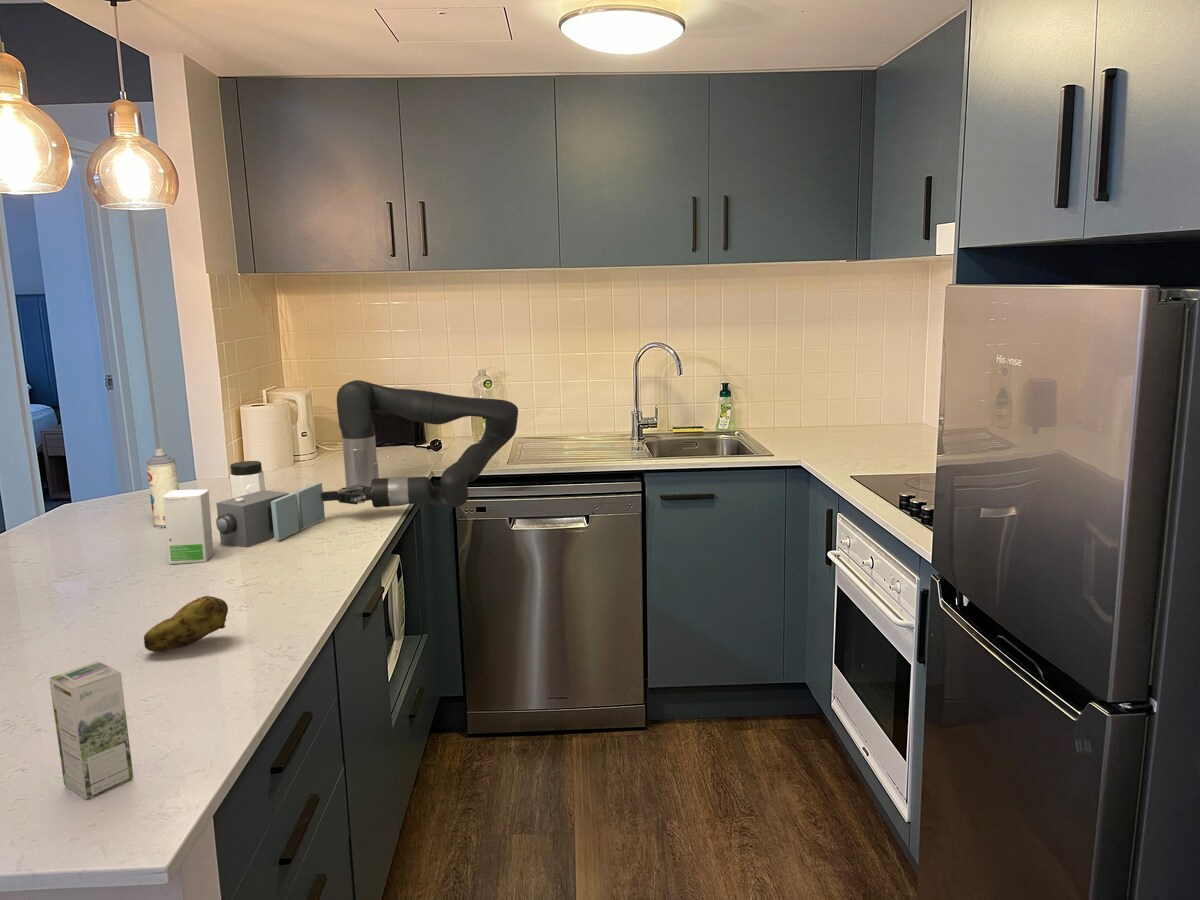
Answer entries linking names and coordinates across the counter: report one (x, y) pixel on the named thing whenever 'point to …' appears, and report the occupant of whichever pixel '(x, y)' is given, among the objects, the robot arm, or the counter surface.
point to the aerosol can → (161, 483)
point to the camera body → (247, 518)
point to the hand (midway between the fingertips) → (322, 496)
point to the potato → (188, 625)
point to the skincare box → (188, 526)
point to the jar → (246, 478)
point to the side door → (297, 511)
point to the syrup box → (91, 729)
